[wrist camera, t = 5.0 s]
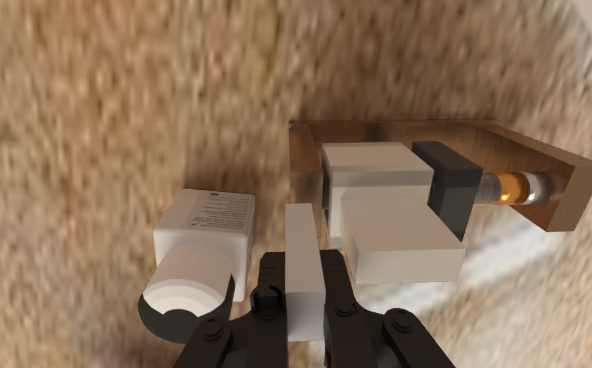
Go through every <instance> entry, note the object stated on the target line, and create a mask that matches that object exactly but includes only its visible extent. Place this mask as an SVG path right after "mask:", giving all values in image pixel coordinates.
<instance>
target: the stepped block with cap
mask: <svg viewBox="0 0 592 368" xmlns="http://www.w3.org/2000/svg"><path fill="white" fill-rule="evenodd" d="M322 170H323V176H329V178H330V196H329V209H322V217H323V221H324V226H325V231H326V235H327V240H328V245H329V249H337V248H345V251H346V254H347V258H348V261H349V264H350V268H351V271H352V275H353V278H354V282H355V284H386V283H417V282H449V281H457V278H458V275H459V272H460V268H461V265H462V262H463V259H464V256H465V252H466V249H467V248H466V247H465V246H464V245H463V244H462V243H461V242H460V241H459V240H458V238H457V237H456V236H455V235H454V234H453V233H452V232H451V231H450V230H449V228H448V227H447V226H446V225H445V224H444V223H443V222H442V221H441V220H440V218H439V217H438V216H437V215H436V214H435V213H434V212H433V211H432V209H431V208H430V207H429V206H428V205H427V201H428V196H429V192H430V187H431V183H432V178H433V173H434V170H433V169H432V168H431V167H430V166H429V165H427V164H426V163H425V162H424V161H423V160H421V159H420V158H419V157H418V156H417V155H415V154H414V153H413V152H412V151H410V150H409V149H408V148H407V147H406V146H404V145H403V144H402V143H401V142H362V143H322Z"/></svg>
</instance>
